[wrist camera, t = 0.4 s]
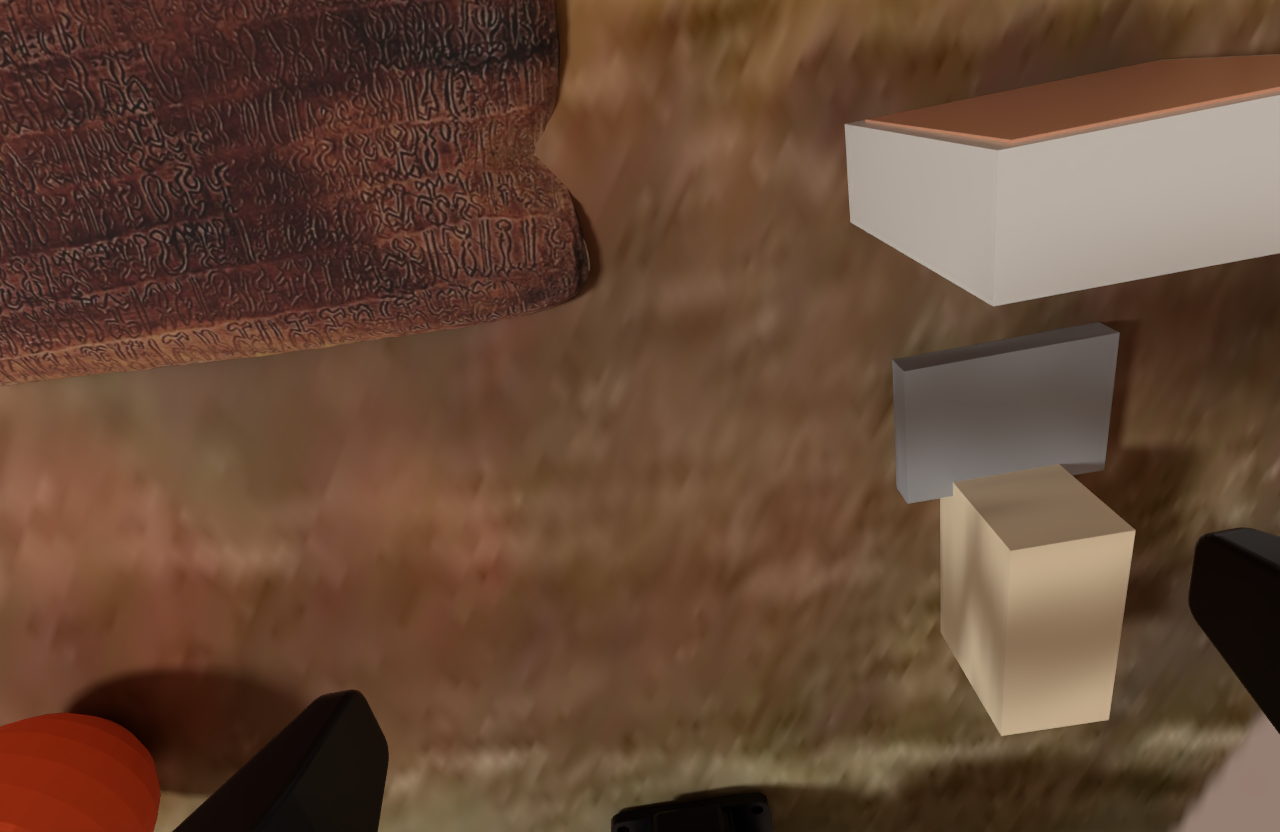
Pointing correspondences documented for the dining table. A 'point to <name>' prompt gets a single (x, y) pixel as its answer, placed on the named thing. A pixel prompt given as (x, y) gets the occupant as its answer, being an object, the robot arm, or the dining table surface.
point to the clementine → (75, 776)
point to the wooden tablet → (271, 177)
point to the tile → (1079, 177)
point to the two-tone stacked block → (1021, 517)
